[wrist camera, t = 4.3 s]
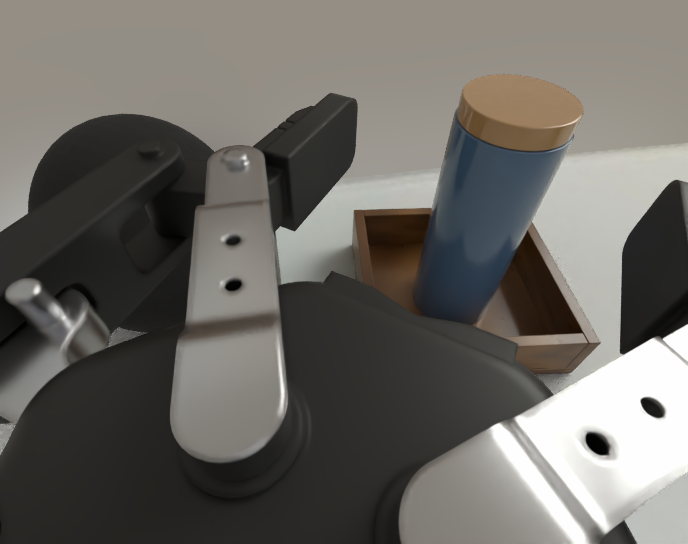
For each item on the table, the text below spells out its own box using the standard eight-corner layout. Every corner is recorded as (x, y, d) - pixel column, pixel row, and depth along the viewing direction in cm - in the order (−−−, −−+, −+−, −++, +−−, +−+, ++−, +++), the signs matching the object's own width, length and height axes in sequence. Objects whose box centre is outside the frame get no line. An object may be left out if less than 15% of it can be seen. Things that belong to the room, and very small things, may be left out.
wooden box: (506, 239, 37) (522, 205, 34) (571, 372, 28) (601, 342, 25) (352, 244, 36) (353, 209, 33) (367, 383, 27) (371, 353, 24)
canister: (475, 266, 34) (554, 72, 21) (497, 325, 30) (610, 128, 18) (406, 269, 33) (447, 73, 21) (419, 329, 29) (480, 130, 17)
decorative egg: (232, 229, 37) (188, 59, 26) (291, 323, 30) (265, 149, 19) (90, 280, 32) (-39, 102, 21) (121, 404, 26) (-45, 240, 14)
